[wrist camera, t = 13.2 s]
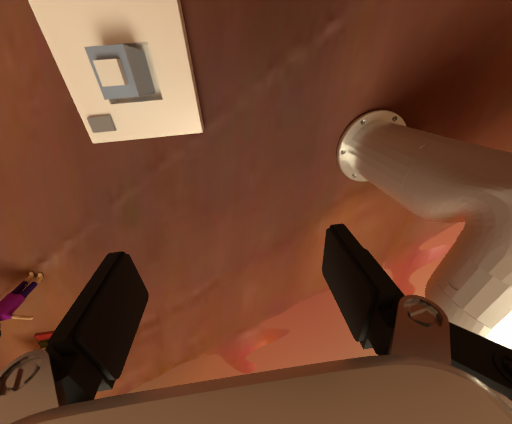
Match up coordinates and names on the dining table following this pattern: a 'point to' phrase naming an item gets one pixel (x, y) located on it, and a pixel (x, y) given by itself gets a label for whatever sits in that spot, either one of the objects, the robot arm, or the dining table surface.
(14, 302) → the toy
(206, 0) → the dining table surface
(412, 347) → the robot arm
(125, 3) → the socket plate
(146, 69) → the plug
